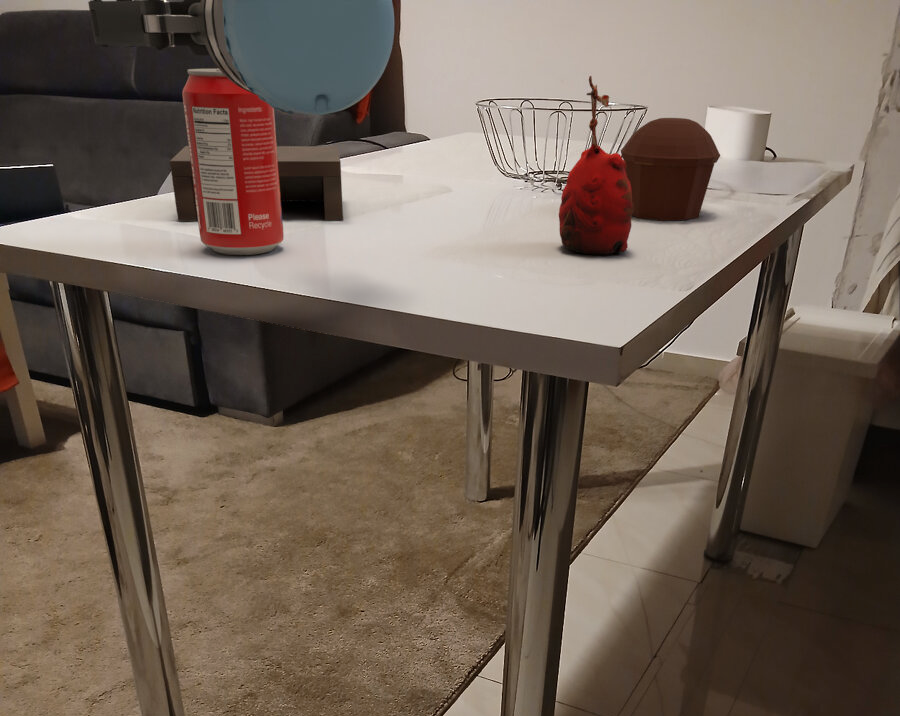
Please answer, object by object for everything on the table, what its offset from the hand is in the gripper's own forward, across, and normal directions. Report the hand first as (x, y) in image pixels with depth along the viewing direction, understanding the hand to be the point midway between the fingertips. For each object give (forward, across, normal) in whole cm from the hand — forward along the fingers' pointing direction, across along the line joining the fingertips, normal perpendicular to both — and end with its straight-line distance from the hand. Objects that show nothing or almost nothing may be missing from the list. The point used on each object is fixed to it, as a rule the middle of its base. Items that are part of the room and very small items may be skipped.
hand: (233, 25), depth 69 cm
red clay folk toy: (+2, +33, -19) cm, 38 cm away
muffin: (+19, +50, -19) cm, 57 cm away
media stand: (+31, +5, -18) cm, 37 cm away
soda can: (+10, 0, -18) cm, 21 cm away
